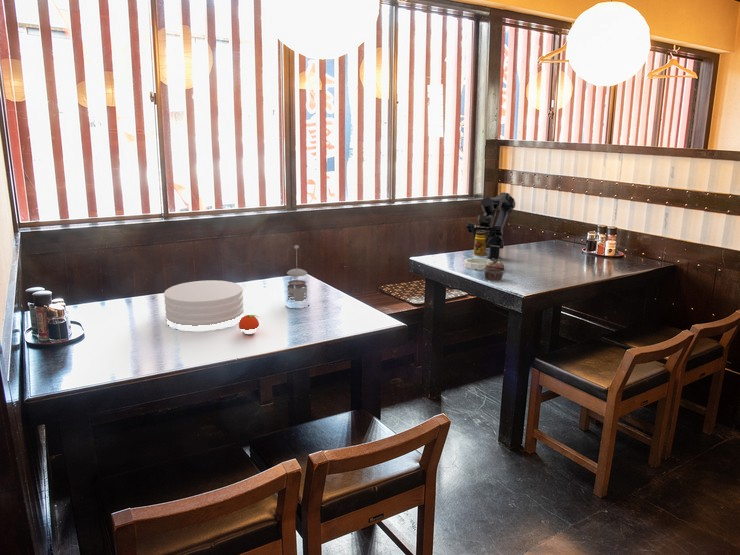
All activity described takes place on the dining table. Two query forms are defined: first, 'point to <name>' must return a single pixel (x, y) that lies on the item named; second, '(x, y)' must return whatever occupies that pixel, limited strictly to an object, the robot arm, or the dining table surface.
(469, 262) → the bowl
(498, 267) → the cupcake
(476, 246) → the condiment
